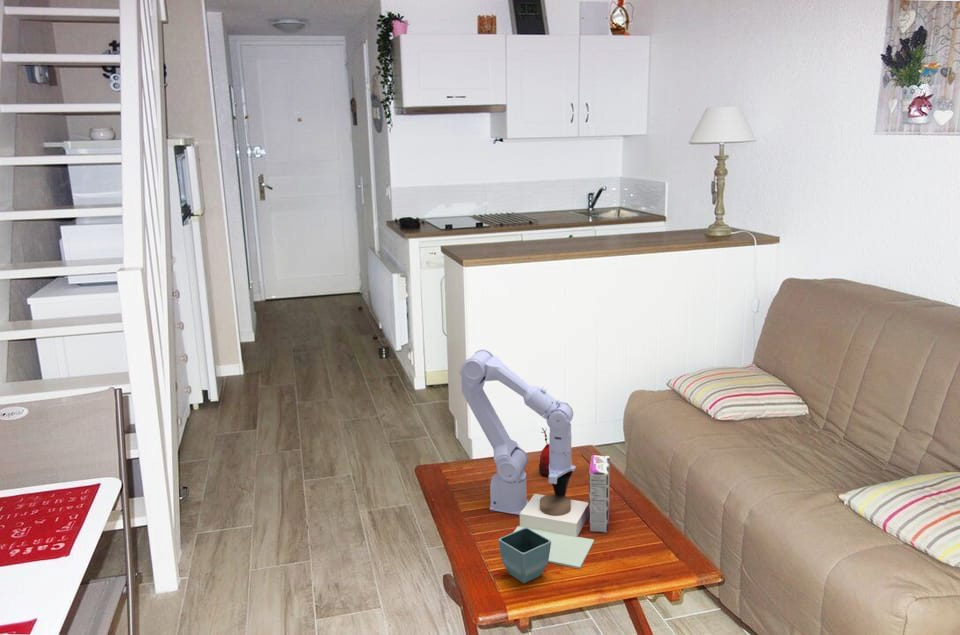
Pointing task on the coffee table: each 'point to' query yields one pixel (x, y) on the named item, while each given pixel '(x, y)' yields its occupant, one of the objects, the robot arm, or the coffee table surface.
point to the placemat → (565, 548)
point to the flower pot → (524, 554)
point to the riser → (555, 517)
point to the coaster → (555, 504)
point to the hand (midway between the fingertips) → (560, 497)
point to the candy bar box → (599, 493)
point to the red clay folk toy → (544, 458)
